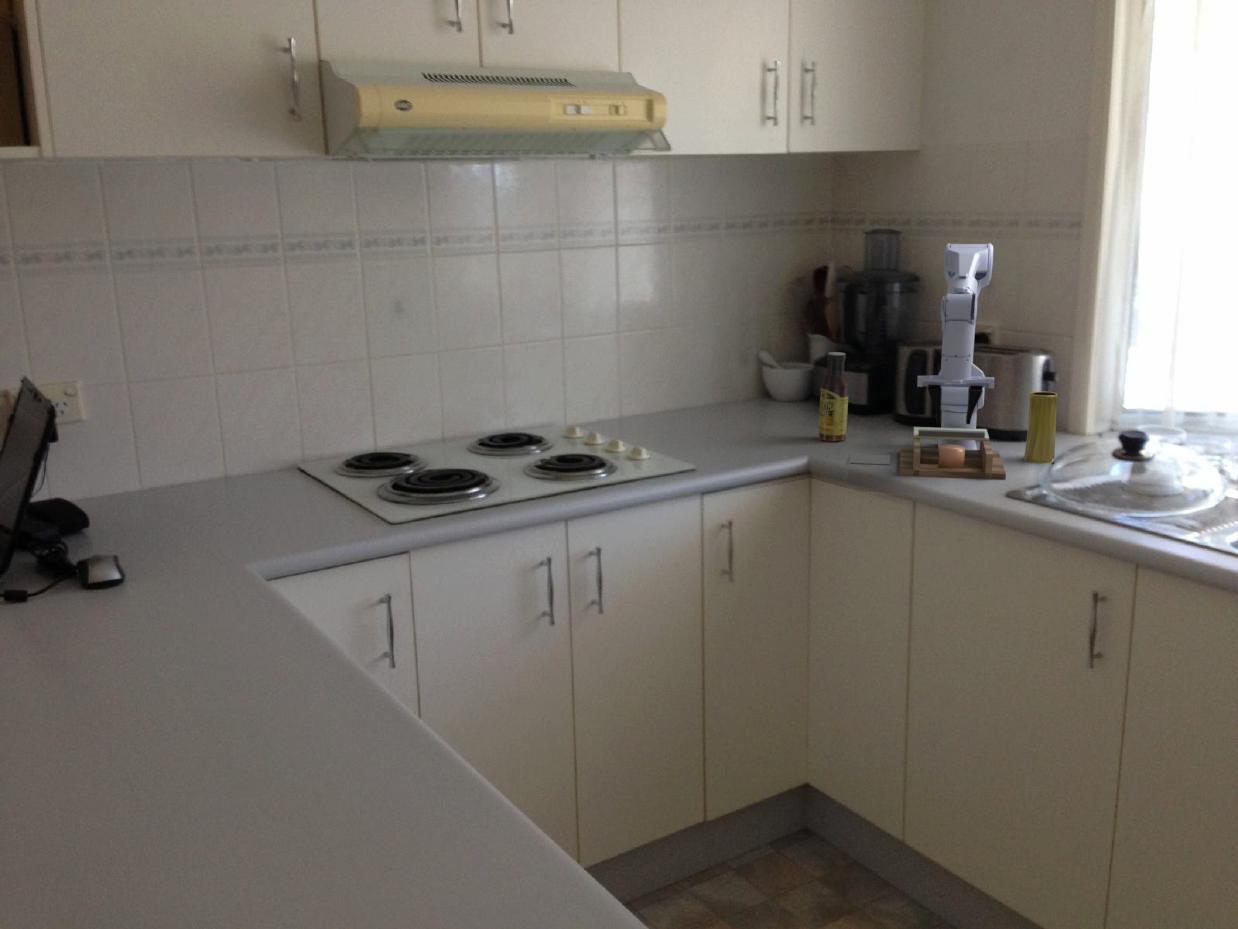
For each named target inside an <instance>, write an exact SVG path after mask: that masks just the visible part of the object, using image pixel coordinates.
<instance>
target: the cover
mask: <svg viewBox="0 0 1238 929" xmlns="http://www.w3.org/2000/svg"><path fill="white" fill-rule="evenodd" d="M913 436H914V438H920V440H921V439H923V440H924V439H926V440H928V439H929V440H941V439H952V440H975V441H980V440H982V441H989V442H990V436H989V433H988V430H987V428H976V429H964V428H941V427H929V426H927V427H925V426H924V427H923V426H922V427H921V426H913Z"/></svg>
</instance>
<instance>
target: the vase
mask: <svg viewBox="0 0 1238 929" xmlns="http://www.w3.org/2000/svg"><path fill="white" fill-rule="evenodd" d="M1057 410H1058V393H1056V392H1053V391H1041V390H1040V391H1039V390H1038V391H1032V392H1030V394H1029V408H1028V419H1027V420H1028V421H1027V422H1028V423H1027V432H1026V433H1027V434H1026V443H1025V449H1024V455H1023V460H1024V461H1025V462H1028V463H1029V462H1030V463H1035V464H1051V463H1050V462H1051V461H1052V459H1054V458H1055V453H1056V452H1055V448H1056V447H1055V446H1056V431H1057V430H1056V429H1057Z"/></svg>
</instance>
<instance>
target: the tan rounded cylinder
mask: <svg viewBox="0 0 1238 929" xmlns="http://www.w3.org/2000/svg"><path fill="white" fill-rule="evenodd" d="M964 457H965V447H963V446H959V445H941V446H939V458H938V468H948V469H964Z"/></svg>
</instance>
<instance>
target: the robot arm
mask: <svg viewBox="0 0 1238 929" xmlns="http://www.w3.org/2000/svg"><path fill="white" fill-rule="evenodd" d="M943 254H944V255H943V271H944V280H945V284H946V285H947V290H946V294H945V296H942V298H941V306H940V307H941V308H940V317H941V319H940V320H941V332H942V342H941V343H942V346H941V364H940V370H939V372H938V375H937V374H936V375H935V374H934V375H917V384H916V386H917V387H918V388H919V387H920V388H923V387H927V391H928V393H929V395H930V398H931V401H932V404H933V407H934V411H935V417H936V424H941V425H940V426H941V427H940V428H964V429H977V415H978V413H977V412H978V409H982V408H983V407H984V404H985V390H986V389H985V388H987V389H995V377H993V376H990V377H989V376H985V374H984V371H982V370H981V368H979V367H978V366H977V365H975V364H974V363H973V362H974V349H975V348H974V347H975V334H976V321H977V315H978V297H979V295H980V292H981V289H982V288H985V287H987V286H989V285H990V281H991V280H992V272H993V266H994V265H993V263H994V262H993V261H994V245H993V244H992V243H991V242H990V243H950V242H949V243H947V244H946V245H945V246H944V253H943ZM941 445H959V446H963V447H965V450H978V448H977V444H976V440H952V439H940V441H939V440H937V449H939V446H941Z"/></svg>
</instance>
